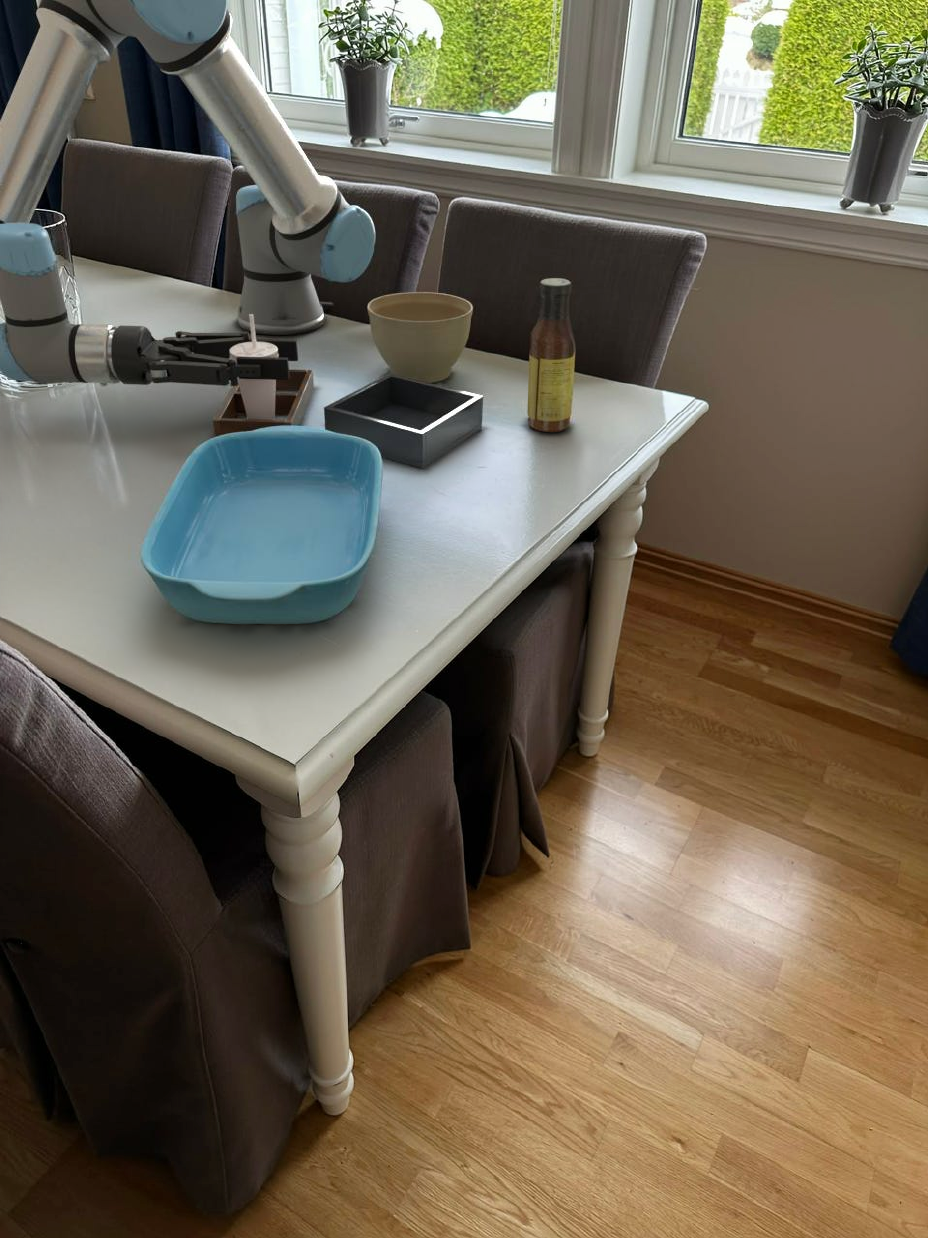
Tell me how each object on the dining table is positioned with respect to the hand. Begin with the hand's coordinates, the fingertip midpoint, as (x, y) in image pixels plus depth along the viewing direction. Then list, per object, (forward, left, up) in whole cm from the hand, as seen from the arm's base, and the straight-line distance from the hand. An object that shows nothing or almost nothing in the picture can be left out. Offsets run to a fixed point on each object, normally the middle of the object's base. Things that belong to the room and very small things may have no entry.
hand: (292, 359), depth 120 cm
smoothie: (+3, -4, -9) cm, 10 cm away
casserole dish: (+28, +20, -10) cm, 35 cm away
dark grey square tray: (-6, +14, -10) cm, 18 cm away
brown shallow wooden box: (-2, -7, -10) cm, 12 cm away
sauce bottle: (-20, +29, -10) cm, 37 cm away
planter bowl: (-27, +3, -10) cm, 29 cm away
